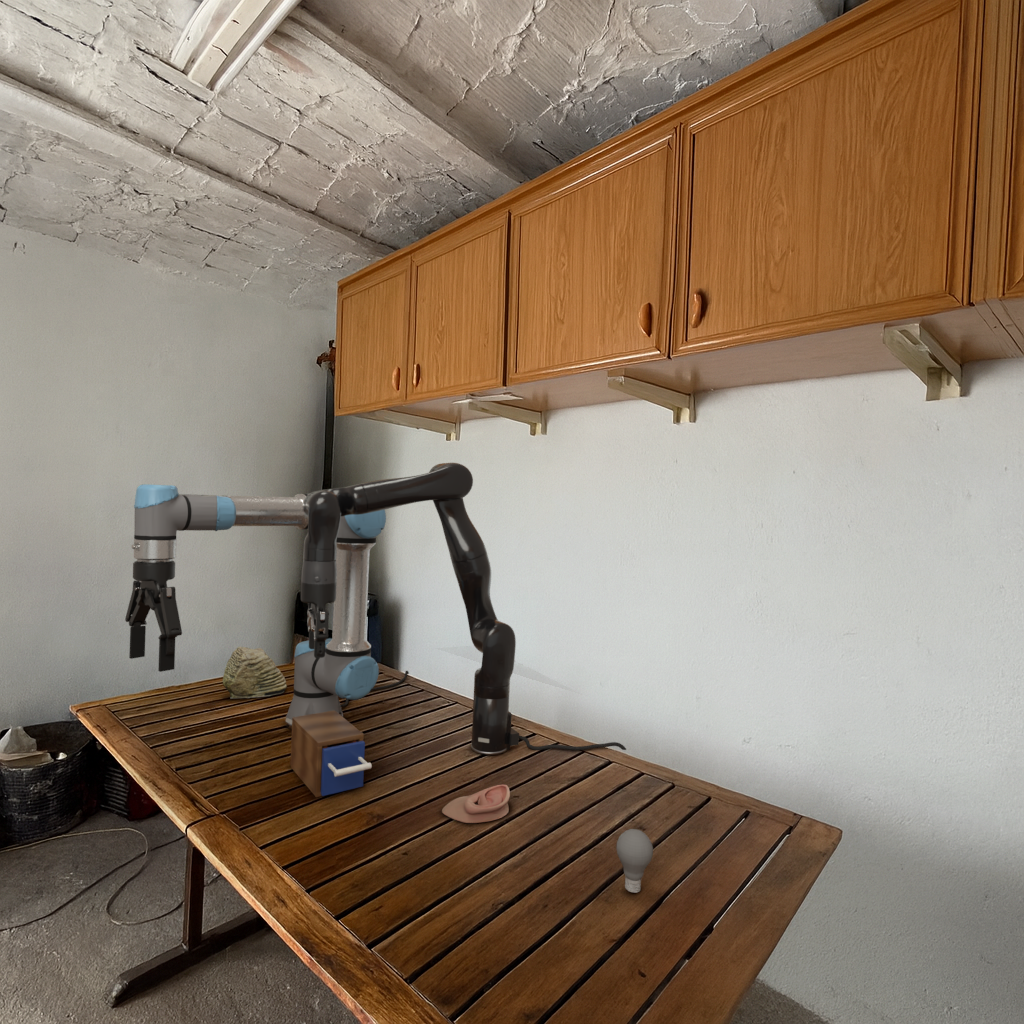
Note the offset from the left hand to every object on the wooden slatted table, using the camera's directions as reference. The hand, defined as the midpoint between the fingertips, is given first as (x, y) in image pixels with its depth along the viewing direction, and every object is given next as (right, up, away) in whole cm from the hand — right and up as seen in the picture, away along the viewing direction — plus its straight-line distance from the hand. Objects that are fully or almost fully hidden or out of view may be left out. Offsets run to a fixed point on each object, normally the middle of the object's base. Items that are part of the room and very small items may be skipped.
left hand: (151, 663), depth 129 cm
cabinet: (+31, -29, +14) cm, 45 cm away
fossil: (-7, -26, +69) cm, 74 cm away
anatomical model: (+66, -31, +1) cm, 73 cm away
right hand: (+30, 0, +12) cm, 32 cm away
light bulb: (+94, -32, -24) cm, 102 cm away
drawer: (+35, -28, +10) cm, 46 cm away
